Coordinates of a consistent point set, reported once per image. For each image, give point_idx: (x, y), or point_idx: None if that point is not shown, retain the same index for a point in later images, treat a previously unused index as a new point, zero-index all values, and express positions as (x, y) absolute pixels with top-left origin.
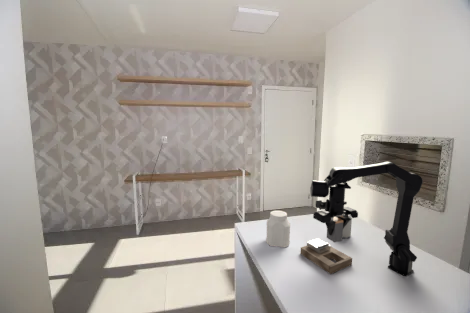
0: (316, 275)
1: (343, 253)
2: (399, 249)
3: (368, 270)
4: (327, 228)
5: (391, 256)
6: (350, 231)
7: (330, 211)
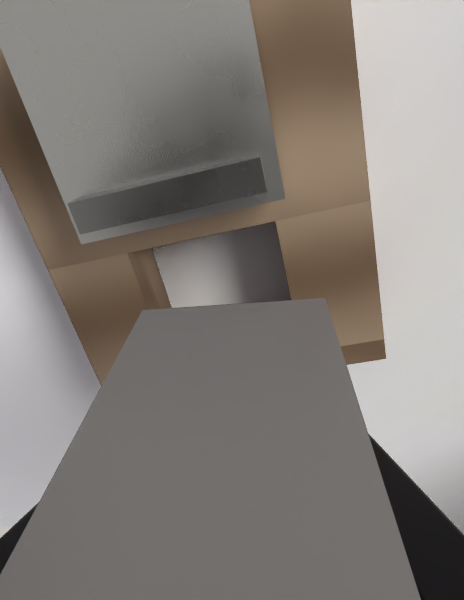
0: (21, 351)
1: (374, 277)
2: None
3: (427, 399)
4: (2, 550)
5: None
6: None
7: None
